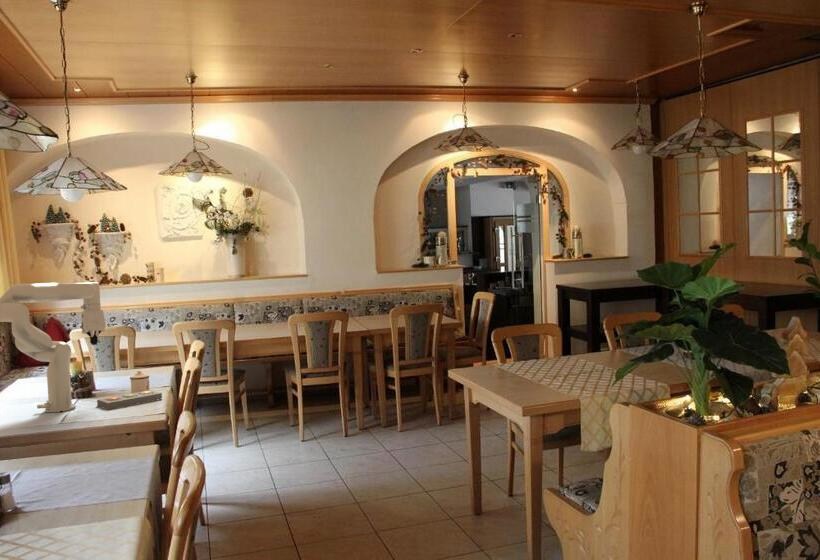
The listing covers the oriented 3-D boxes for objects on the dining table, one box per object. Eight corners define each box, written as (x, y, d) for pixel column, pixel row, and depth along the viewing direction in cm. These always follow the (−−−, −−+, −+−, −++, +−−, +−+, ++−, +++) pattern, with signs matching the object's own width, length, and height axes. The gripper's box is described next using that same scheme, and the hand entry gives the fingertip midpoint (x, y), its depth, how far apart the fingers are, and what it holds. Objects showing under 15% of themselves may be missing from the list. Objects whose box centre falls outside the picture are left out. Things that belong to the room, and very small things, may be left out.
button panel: (108, 409, 318) (108, 403, 318) (97, 405, 327) (97, 399, 326) (161, 399, 337) (161, 393, 337) (150, 395, 345) (150, 389, 345)
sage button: (127, 403, 328) (127, 396, 328) (122, 401, 332) (122, 395, 332) (137, 401, 332) (137, 394, 332) (132, 399, 335) (132, 393, 335)
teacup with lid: (151, 394, 350) (150, 371, 349) (132, 396, 346) (130, 373, 345) (147, 390, 360) (146, 367, 360) (129, 392, 356) (128, 369, 356)
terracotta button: (110, 406, 323) (110, 399, 322) (105, 404, 326) (105, 398, 326) (121, 404, 326) (120, 397, 326) (116, 402, 330) (116, 396, 329)
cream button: (143, 399, 334) (143, 393, 334) (138, 398, 338) (138, 392, 337) (153, 397, 338) (153, 391, 338) (148, 396, 341) (148, 390, 341)
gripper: (79, 308, 331) (81, 347, 332) (110, 306, 342) (112, 343, 343) (73, 308, 336) (75, 345, 337) (104, 305, 347) (106, 342, 348)
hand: (94, 344), depth 340 cm, fingers closed
